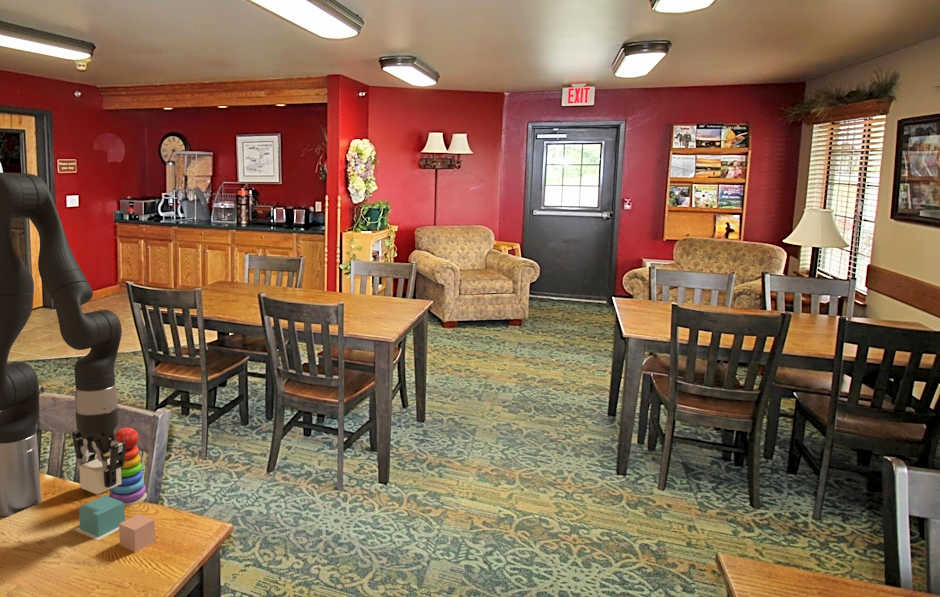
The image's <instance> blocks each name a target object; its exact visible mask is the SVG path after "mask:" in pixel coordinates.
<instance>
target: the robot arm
mask: <svg viewBox="0 0 940 597" xmlns="http://www.w3.org/2000/svg"><path fill="white" fill-rule="evenodd" d="M46 183H47V182H45V181H44V180H43V179H42V178H41V177H40V176H38V175H36V174H32V173H23V172H3V171H2V172H0V517H11V516H13V515H15V514H18V513H20V512H22V511H25V510H27V509H30V508H32V507H34V506H36V505H39V504H41V503H42V490H41V478H40V477H41V476H40V475H41V474H40V462H39V461H40V460H39V447H38V446H39V445H38V435H37V425H38V422H39V420H40V385H39V379H38V376H37V373H36V371H35V369H33V367H32V366H31V365H29V364H28V363H26V362H23V361H16V362H10V363H8V359H9V355H10V353H11V349H12V347H13V345H14V343H15V341H16V340H17V339H18V336H19V335H20V334H21V332H22V331H23V329H24V328H25V326H26V325H27V323H28V321H29V319H30V317H31V315H32V312H33V308H34V294H35V293H34V292H35V291H34V289H35V284H34V283H35V282H34V278H33V275H32V273H31V272H30V270H29V269H28V267H27V265H26V264H25V262H24V261H23V260H22V258H21V257H20V255H19V254H18V251H17V250H16V248H15V246H14V241H13V234H12V232H13V231H12V225H13V224H12V223H13V220H17V219H18V220H19V219H20V220H21V219H22V220H23V219H25V220H26V219H29V220H30V222H31V223H32V224H33V226H34V227H35V229H36V230H37V233H38V237H39V253H38V259H37V268H38V273H39V277H40V279H41V281H42V283H43V285H44V287H45V288H46V291H47V292H48V294H49V296H50V297H51V299H52V301H53V303H54V306H55V313H56V316H57V321H58V327H59V331H60V332H59V333H60V335H61V337H62V340H63V341H64V342H65V344H66V345H67V346H69V347H70V348H71V349H75V350H77V351H84V350H88V349H90V350H89V352H88V353H87V354H86V355H85V356H83V357H81V358H80V359H78V360H77V361H76V362H75V364H74V382H75V383H74V386H75V391H74V392H75V393H74V406H75V407H74V408H75V422H76V423H75V425H76V430H75V431H72V433H71V437H72V440H73V441H72V442H73V446H74V452H75V457H76V459H78V460H80V459H81V462H82V463H83V464H85V463H87V462H90V461H93V460H95V459H96V458H98V461H99V462H102V465H103V468H104V485H105V487H107V488H109V487H111V486H113V485H115V484H116V481H117V479H116V469H118V468H121V467H123V466H124V459H125V450H126V443H125V442H124V441H123V442H118V441H116V438H115V429H116V428H117V427H118V426H119V409H118V407H119V406H118V392H117V387H116V376H115V363H116V360H117V357H118V356H117V355H118V351H119V349H120V348H119V347H120V343H121V339H122V332H123V331H122V330H123V329H122V323H121V320H120V318H119V317H118V315H117V314H116V313H115V312H113V311H112V310H109V309H100V310H94V311H90V312H86V313H84V312H83V310H82V306H83V305H85V304H87V303H88V302H90V301H91V300H92V298H93V297H94V291H93V289H92V287H91V286H90V283H89V281H88V279H87V278H86V276H85V274H84V272H83V271H82V268H81V267H80V265H79V263H78V262H77V259H76V257H75V255H74V254H73V252H72V251H73V250H72V249H71V246H70V244H69V241H68V238H67V235H66V232H65V229H64V226H63V223H62V220H61V217H60V215H59V212H58V208H57V206H56V204H55V201H54V198H53V195H52V193H51V191H50V189H49V187H48V185H47V184H46ZM81 448H82V449H81ZM108 452H109V455H106V456H103V454H106V453H108ZM108 459H110V464H109V465H108V462H107V460H108ZM117 460H118V462H117Z"/></svg>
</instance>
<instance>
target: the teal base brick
mask: <svg viewBox="0 0 940 597" xmlns="http://www.w3.org/2000/svg"><path fill="white" fill-rule="evenodd" d="M78 515H79V516H78V517H79V519H78V520H79V527H80V529H81V530H84V531H86V532H88V533H91V534H93V535H95V536H97V537H100V536H102V535H104V534H106V533H108V532H110V531H112V530H114V529H116V528H118V527H119V524H120V523H122V522H123V521H125V520H126V516H125V515H126V514H125V507H124V502H121V501H119V500H116V499H114V498H111V497H110V495H109V496H108V495H103V496H100V497H99V498H96V499H95V500H91V501H90V502H88V503H85V504H83V505H80V506H78Z"/></svg>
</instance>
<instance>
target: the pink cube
mask: <svg viewBox="0 0 940 597" xmlns="http://www.w3.org/2000/svg"><path fill="white" fill-rule="evenodd" d="M155 526H156V525H155V519H153V518H151V517H148V516H146V515H144V514H141V513H137V514H135V515H133V516H132V517H129V518H128V519H125V521H123V522H122V523H120V524H119V530H118V531H119V535H118V536H119V546H120V547H122V548H124V549H127V550H128V551H132V552H134V553H137V552H139V551H140V550H143V549H144V548H146V547H148V546H150V545H151V544H152V543H153V544H154V543H155V542H156V527H155Z"/></svg>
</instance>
